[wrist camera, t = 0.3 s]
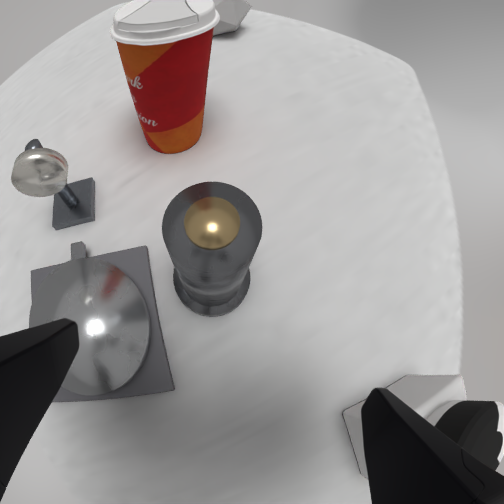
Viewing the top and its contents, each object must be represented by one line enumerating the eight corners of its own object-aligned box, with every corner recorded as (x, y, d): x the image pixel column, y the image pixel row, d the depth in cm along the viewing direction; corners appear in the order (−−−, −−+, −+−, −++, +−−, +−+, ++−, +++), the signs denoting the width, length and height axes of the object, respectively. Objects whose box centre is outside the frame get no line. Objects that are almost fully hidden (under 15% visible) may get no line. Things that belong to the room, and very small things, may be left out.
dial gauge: (96, 219, 22) (51, 155, 14) (54, 230, 21) (-1, 175, 13) (96, 181, 23) (60, 112, 15) (56, 192, 23) (12, 131, 14)
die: (227, 20, 37) (194, -17, 29) (268, 12, 32) (235, -32, 24) (204, 50, 37) (165, 13, 29) (246, 43, 32) (206, -3, 24)
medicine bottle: (360, 476, 18) (450, 528, 7) (340, 411, 20) (443, 444, 9) (422, 436, 19) (520, 454, 8) (407, 373, 21) (516, 368, 10)
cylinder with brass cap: (256, 307, 22) (292, 270, 12) (182, 323, 21) (157, 298, 11) (239, 239, 23) (258, 160, 14) (169, 252, 22) (142, 179, 13)
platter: (164, 385, 18) (161, 387, 17) (48, 396, 16) (41, 397, 15) (137, 234, 21) (134, 228, 20) (33, 258, 19) (26, 253, 18)
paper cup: (143, 108, 27) (125, -6, 14) (214, 107, 28) (223, -12, 15) (128, 165, 24) (89, 36, 11) (211, 164, 25) (218, 25, 12)
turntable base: (174, 389, 19) (173, 390, 18) (50, 401, 17) (47, 402, 16) (147, 248, 22) (145, 245, 22) (34, 272, 20) (30, 270, 19)
